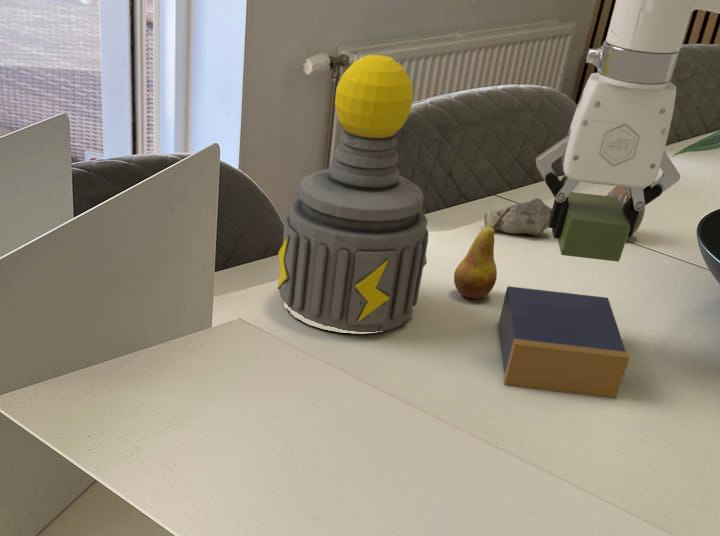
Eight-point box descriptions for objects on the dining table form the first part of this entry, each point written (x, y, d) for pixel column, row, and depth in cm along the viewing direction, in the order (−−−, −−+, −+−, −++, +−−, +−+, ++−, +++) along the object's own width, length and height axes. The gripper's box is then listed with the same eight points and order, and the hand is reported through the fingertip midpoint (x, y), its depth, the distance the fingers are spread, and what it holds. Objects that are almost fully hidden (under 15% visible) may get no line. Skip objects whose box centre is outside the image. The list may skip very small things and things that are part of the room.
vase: (586, 236, 160) (602, 179, 155) (601, 225, 165) (617, 169, 159) (628, 247, 158) (646, 189, 152) (641, 235, 162) (659, 179, 156)
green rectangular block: (608, 231, 120) (619, 197, 117) (619, 262, 113) (631, 226, 110) (553, 225, 120) (562, 190, 118) (561, 255, 113) (571, 219, 110)
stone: (477, 237, 160) (510, 216, 152) (478, 204, 160) (511, 181, 153) (526, 251, 164) (560, 231, 156) (527, 219, 164) (561, 197, 157)
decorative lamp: (295, 341, 125) (322, 74, 105) (262, 281, 139) (280, 35, 119) (435, 335, 129) (487, 76, 109) (390, 278, 142) (428, 38, 123)
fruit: (458, 284, 142) (476, 197, 134) (496, 295, 140) (517, 207, 132) (444, 297, 138) (462, 208, 130) (483, 308, 136) (504, 218, 129)
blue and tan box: (597, 335, 132) (609, 296, 129) (615, 398, 119) (629, 357, 115) (497, 323, 133) (506, 285, 130) (504, 384, 120) (514, 344, 116)
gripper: (556, 65, 102) (514, 241, 114) (728, 82, 101) (668, 258, 113) (550, 50, 108) (510, 219, 120) (713, 66, 106) (657, 235, 118)
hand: (587, 237), depth 116 cm, fingers closed on green rectangular block, 6 cm apart
